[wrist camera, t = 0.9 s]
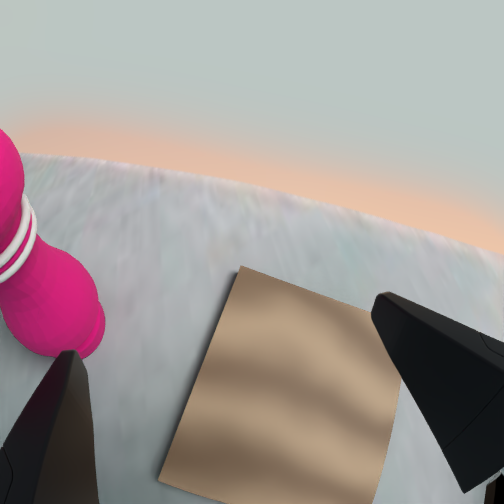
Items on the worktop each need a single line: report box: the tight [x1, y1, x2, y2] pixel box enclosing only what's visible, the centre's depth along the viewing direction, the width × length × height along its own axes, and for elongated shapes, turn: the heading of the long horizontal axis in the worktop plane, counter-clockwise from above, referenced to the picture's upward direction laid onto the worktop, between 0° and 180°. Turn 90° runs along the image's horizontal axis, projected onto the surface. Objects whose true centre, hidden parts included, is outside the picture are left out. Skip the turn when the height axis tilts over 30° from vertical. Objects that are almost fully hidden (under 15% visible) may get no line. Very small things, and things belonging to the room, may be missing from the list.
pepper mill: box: [0, 129, 105, 359], centre depth 13 cm, size 7×7×20 cm
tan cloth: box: [158, 266, 401, 504], centre depth 21 cm, size 18×16×1 cm
